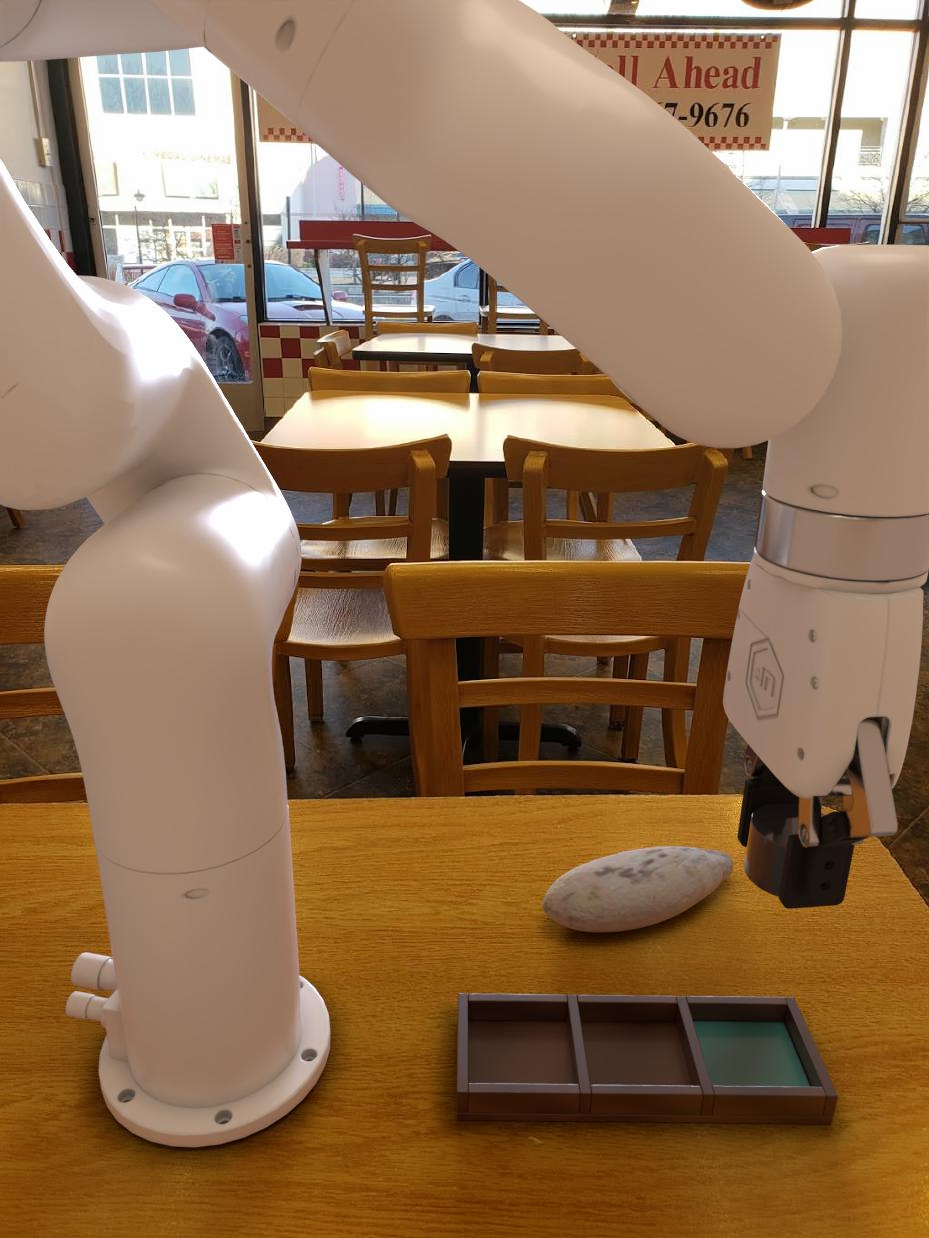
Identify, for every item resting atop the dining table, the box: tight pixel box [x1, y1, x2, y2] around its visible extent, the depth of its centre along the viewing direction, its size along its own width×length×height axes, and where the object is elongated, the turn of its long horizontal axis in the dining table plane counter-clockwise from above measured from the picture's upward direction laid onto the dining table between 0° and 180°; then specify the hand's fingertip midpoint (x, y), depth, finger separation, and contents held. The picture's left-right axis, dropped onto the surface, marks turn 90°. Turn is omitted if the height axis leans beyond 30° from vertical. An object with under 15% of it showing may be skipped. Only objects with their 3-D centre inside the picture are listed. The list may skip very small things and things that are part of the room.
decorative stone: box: [541, 845, 734, 933], centre depth 65 cm, size 6×16×3 cm, turn 117°
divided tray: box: [455, 992, 839, 1125], centre depth 52 cm, size 20×7×2 cm, turn 90°
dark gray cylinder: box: [743, 803, 826, 898], centre depth 49 cm, size 4×4×3 cm
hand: (787, 868), depth 49 cm, fingers closed on dark gray cylinder, 4 cm apart
